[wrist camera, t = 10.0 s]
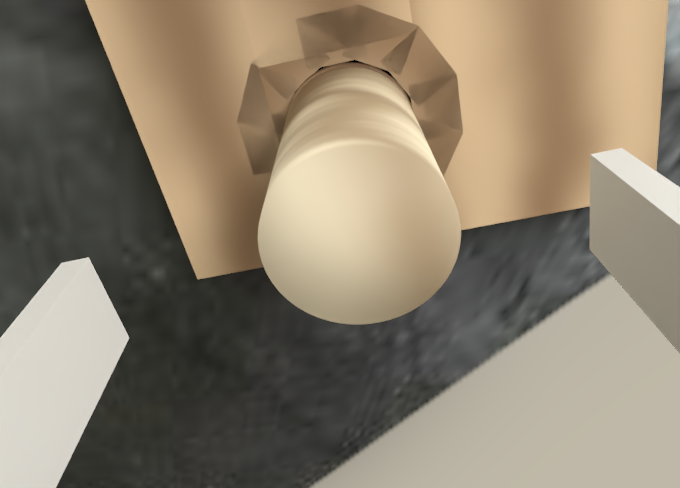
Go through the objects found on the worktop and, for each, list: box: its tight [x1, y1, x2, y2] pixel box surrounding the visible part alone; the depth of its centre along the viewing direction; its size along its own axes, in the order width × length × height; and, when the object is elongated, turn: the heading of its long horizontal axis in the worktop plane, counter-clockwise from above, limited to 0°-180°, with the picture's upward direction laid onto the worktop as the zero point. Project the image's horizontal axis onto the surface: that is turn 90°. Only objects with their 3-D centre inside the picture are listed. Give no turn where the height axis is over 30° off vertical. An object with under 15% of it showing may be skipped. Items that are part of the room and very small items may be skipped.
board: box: [85, 0, 668, 279], centre depth 24 cm, size 22×16×3 cm
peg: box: [258, 62, 461, 324], centre depth 20 cm, size 6×6×13 cm
